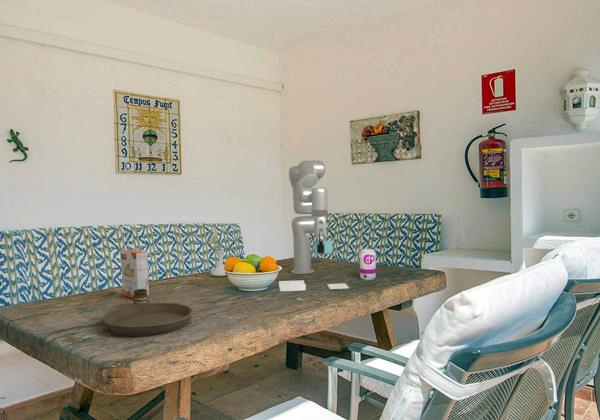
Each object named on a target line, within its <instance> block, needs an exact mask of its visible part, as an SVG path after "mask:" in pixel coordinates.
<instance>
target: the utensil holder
mask: <svg viewBox="0 0 600 420" xmlns="http://www.w3.org/2000/svg"><path fill="white" fill-rule="evenodd" d="M149 277H150V276H148V279H150V278H149ZM148 279H147V283H146V287H147V284H148ZM136 282H138V281H136ZM137 284H139V283H137ZM133 285H134V284H133ZM136 288H137V287H136ZM138 288H139V287H138ZM132 302H133V304H132V305H138V304H146V303H150V302H149V298H148V294H147V289H146V288H145V289H137V290H134V296H133V301H132Z"/></svg>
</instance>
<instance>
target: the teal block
mask: <svg viewBox="0 0 600 420" xmlns="http://www.w3.org/2000/svg"><path fill="white" fill-rule="evenodd" d="M317 244H318V241H316V240H313V248H314V249H313V250H314V251H313V253H314V254H317V255H318V254H319V255H321V254H333V241H332V240H331V239H329V240H324V253H318V252H317Z"/></svg>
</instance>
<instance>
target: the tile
mask: <svg viewBox="0 0 600 420" xmlns="http://www.w3.org/2000/svg"><path fill="white" fill-rule="evenodd" d="M326 285H327V287H328V289H329V290H338V289H340V290H343V289H345V290H346V289H350V287H349V286H348V284H347V283H345V282H344V283H341V282H340V283H327V284H326Z"/></svg>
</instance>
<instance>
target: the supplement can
mask: <svg viewBox="0 0 600 420" xmlns="http://www.w3.org/2000/svg"><path fill="white" fill-rule="evenodd" d="M376 253H377V252H376V250H375V249H372V248H363V249H360V252H359V278H360V279H361V280H367V281H370V280H371V281H372V280H375V279H376V277H377V267H376V266H377V264H376V261H377V259H376V258H377V257H376V256H377V254H376Z"/></svg>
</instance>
